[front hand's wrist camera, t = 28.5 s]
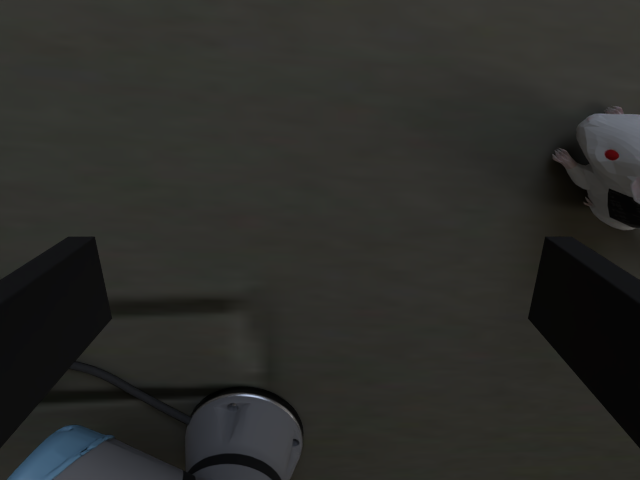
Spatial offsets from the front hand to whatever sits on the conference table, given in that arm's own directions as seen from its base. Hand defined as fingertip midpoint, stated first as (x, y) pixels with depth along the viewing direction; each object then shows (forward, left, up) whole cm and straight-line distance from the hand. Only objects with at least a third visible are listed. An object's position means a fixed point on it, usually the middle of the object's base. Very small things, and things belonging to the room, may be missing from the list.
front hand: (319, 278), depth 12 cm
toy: (+30, +15, -32) cm, 46 cm away
